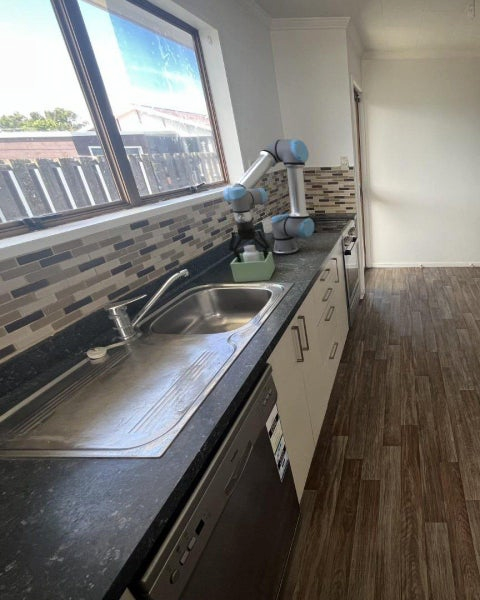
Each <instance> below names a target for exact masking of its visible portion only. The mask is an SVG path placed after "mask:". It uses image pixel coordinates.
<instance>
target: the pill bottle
mask: <svg viewBox="0 0 480 600" xmlns="http://www.w3.org/2000/svg"><path fill="white" fill-rule="evenodd" d="M243 250H244V252H242V254H243V259H244V262H259V261H261V258H260V254H259V253H260V252H259V250H257V248H256V245H254V244H247V245H244V246H243Z"/></svg>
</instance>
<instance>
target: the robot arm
mask: <svg viewBox="0 0 480 600" xmlns="http://www.w3.org/2000/svg"><path fill="white" fill-rule="evenodd" d="M309 157H310V155H309V149H308V146H307V145H306V143H305V142H304V141H303V140H302V139H297V138H296V139H295V138H291V139H276V140H273V141H271V142H270V143H268V144H267V145H265V147H264V148H263V149H262V150H261V151H260V152H259V156H258V157H257V159H256V160H255V161H254V162H253V163H252V164H251V165H250V166H249V168H248V169H246V171H245V172H244V173H243V174H242V176H240V178H239V179H238V180H237V181H236V183H235V184H234V185H232V187H227V188H225V189H224V190H223V192H222V197H223V199H224V200H225V201H226V202H227V203H229V204H231V208H232V212H233V215H234V220H235V221H236V222H235V226H236V230H237V231H235V230H232V231H231V235H230V236H231V238H230V242H229V247H228V251H229V252H230V251H231V252H233V255H234V258H236V257H237V259H238V263H241V262H242V261H241V257H240V254H241V253H240V250H239V249H238V248H239V247H240V245H241V243H242V241H243V240H244V241H247V240H250V241H251V240H253V241H254V242H255V243H257V244H258V245H259V246H260V247H261V248H262V252H263V254H264V259H266V258H267V255H268V252H269V251H268V249H271V247H272V246H271V244H270V242H269V241H268V240H267V238H266V237H265V235H264V234H263V231H262V229H255V227H254V226H255V225H254V221H253V218H252V217H253V216H252V212H251V207H253V206H257V205H262V204H265V203H266V202H267V201H268V193H267V191H266V190H265V189H264V188H262V187H256V185H257V184H258V183H259V182H260V181H261V180H262V179H263V178H264V176H265V175H266V174H267V173H268V172H269V170H270V169H271V168H274V167H276V165H277V164H279V163H283V167H285V168H286V173H287V182H288V183H287V184H288V192H289V193H288V194H289V203H290V213H283V214H278V215H274V216H271V218H270V222H271V228H272V229H271V230H272V233H273V234H272V235H273V239H274V244H273V254H274V255H277V256H286V255H287V256H288V255H293V254H296V253H298V252H299V250H300V248H299V246H298V244H297V242H296V240H295V238H300V239H308V238H310V237H311V236H312V235H313V233H314V230H315V223H314V221H313V219H312V218H310V214H309V212H307V204H306V193H305V180H304V169H305V167H306V163H307V162H308V160H309ZM256 234H257V235H258V236H259V237H258V236H256ZM236 236H239V238H238V240H237V242H236V244H235V241H236ZM260 239H261V240H260ZM234 245H235V246H234Z"/></svg>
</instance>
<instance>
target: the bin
mask: <svg viewBox="0 0 480 600" xmlns="http://www.w3.org/2000/svg"><path fill="white" fill-rule="evenodd" d="M259 254H260V258H261V261H259V262H244V259H243V253H240V257H241V261H242V262H241V263H238V259H237V257H234V259H233V260H232V261H231V262H230V264H229V266H230V268H231V273H232V277H233V281H234V283H245V282H259V281H260V282H261V281H270V280H271V277H272V276H273V274H274V272H275V270H276V267H275V262H274V255H273V251H268V255H267V258H266V259H264V254H263V251H262V252H259Z"/></svg>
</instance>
